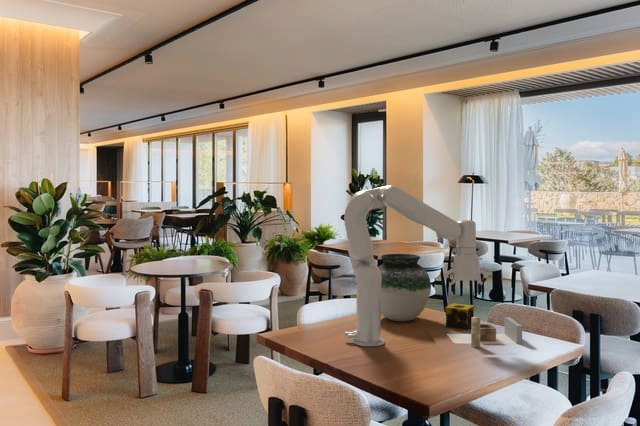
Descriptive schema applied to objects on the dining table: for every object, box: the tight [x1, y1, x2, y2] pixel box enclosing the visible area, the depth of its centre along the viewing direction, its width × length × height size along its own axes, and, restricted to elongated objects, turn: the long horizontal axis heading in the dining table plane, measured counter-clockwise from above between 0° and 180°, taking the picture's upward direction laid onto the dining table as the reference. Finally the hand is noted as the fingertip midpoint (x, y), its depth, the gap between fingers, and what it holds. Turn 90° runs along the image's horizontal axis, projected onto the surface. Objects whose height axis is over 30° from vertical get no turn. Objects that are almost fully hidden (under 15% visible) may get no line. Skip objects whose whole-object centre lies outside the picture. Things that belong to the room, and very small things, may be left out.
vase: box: [377, 253, 432, 322], centre depth 243 cm, size 28×28×30 cm
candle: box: [445, 303, 475, 331], centre depth 226 cm, size 10×10×10 cm
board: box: [446, 316, 523, 345], centre depth 206 cm, size 26×14×8 cm, turn 89°
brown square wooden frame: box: [480, 323, 497, 341], centre depth 206 cm, size 8×8×5 cm
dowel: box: [470, 316, 481, 349], centre depth 195 cm, size 3×3×12 cm
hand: (466, 294), depth 205 cm, fingers open, 9 cm apart
